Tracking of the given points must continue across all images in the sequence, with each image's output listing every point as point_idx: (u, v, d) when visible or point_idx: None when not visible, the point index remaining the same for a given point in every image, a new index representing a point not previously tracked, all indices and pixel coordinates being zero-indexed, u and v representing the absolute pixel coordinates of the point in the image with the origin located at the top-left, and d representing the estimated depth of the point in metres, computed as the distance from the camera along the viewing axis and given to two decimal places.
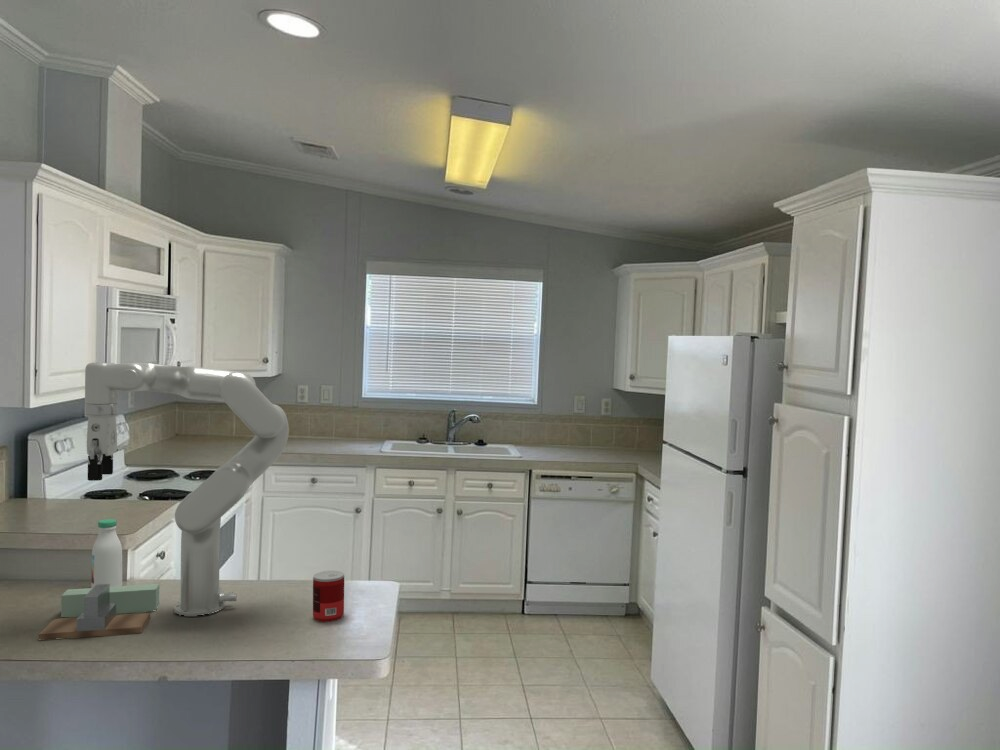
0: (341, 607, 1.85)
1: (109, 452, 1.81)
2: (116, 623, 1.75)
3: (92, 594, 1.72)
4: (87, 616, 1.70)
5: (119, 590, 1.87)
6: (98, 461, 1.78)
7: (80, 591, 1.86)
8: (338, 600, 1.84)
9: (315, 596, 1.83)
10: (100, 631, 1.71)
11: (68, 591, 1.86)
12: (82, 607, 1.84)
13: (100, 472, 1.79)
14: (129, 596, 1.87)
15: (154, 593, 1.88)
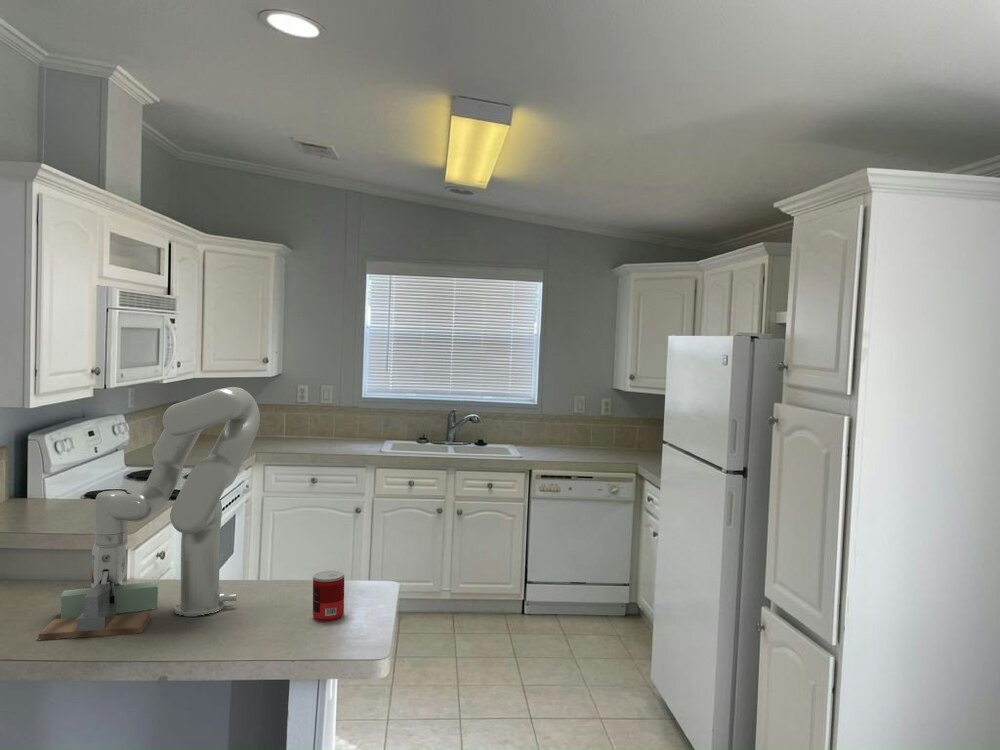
0: (341, 607, 1.85)
1: (119, 581, 1.85)
2: (116, 623, 1.75)
3: (92, 594, 1.72)
4: (87, 616, 1.70)
5: (119, 589, 1.87)
6: (110, 594, 1.84)
7: (79, 591, 1.85)
8: (338, 600, 1.84)
9: (315, 596, 1.83)
10: (100, 631, 1.71)
11: (66, 592, 1.84)
12: (82, 607, 1.83)
13: None
14: (130, 594, 1.87)
15: (156, 590, 1.90)
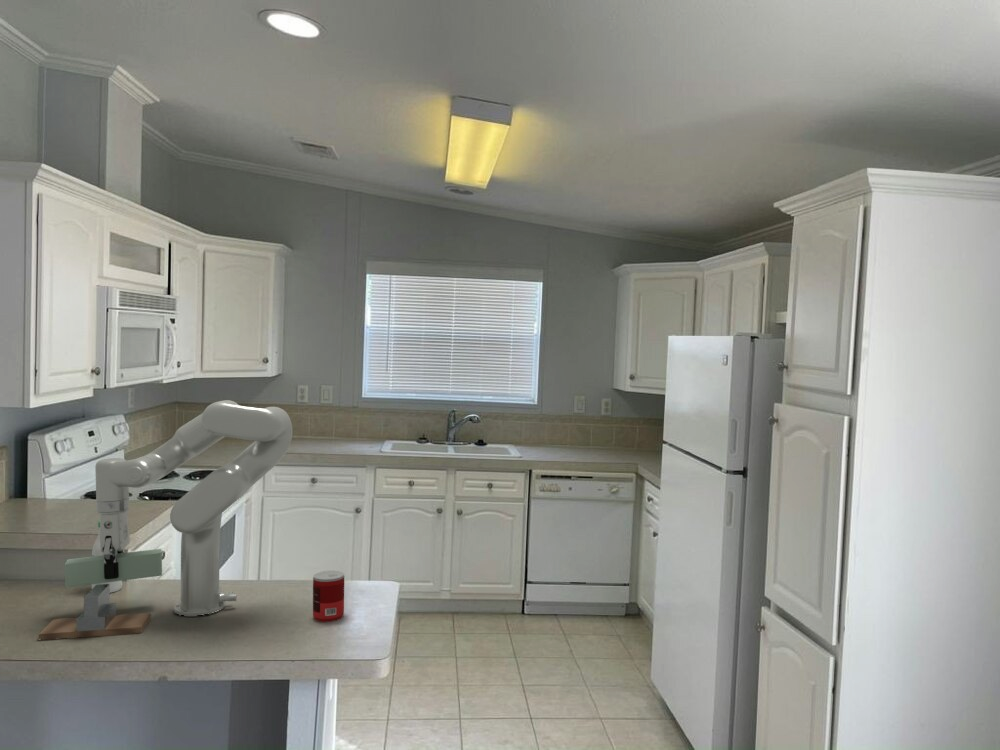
0: (341, 607, 1.85)
1: (122, 547, 1.85)
2: (116, 623, 1.75)
3: (92, 594, 1.72)
4: (87, 616, 1.70)
5: (123, 556, 1.87)
6: (114, 561, 1.84)
7: (82, 559, 1.85)
8: (338, 600, 1.84)
9: (315, 596, 1.83)
10: (100, 631, 1.71)
11: (69, 560, 1.84)
12: (86, 575, 1.83)
13: (116, 570, 1.85)
14: (134, 561, 1.87)
15: (159, 557, 1.90)
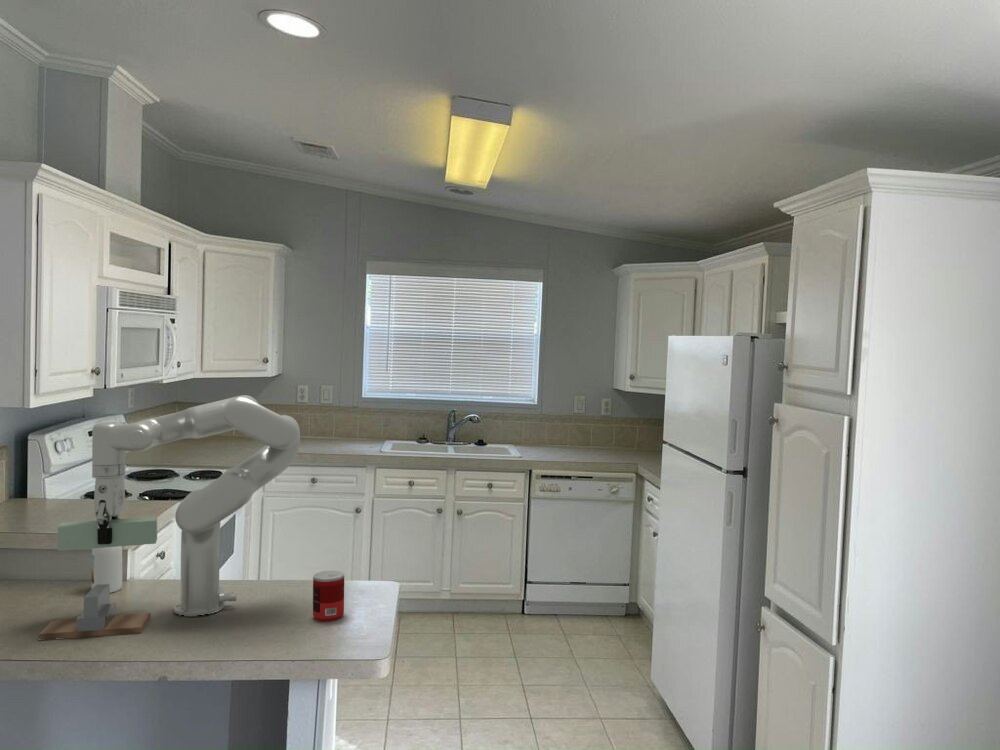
0: (341, 607, 1.85)
1: (116, 513, 1.82)
2: (116, 623, 1.75)
3: (92, 594, 1.72)
4: (87, 616, 1.70)
5: (117, 522, 1.84)
6: (107, 526, 1.80)
7: (76, 523, 1.82)
8: (338, 600, 1.84)
9: (315, 596, 1.83)
10: (100, 631, 1.71)
11: (63, 524, 1.81)
12: (79, 539, 1.80)
13: (110, 536, 1.81)
14: (128, 527, 1.84)
15: (154, 524, 1.86)
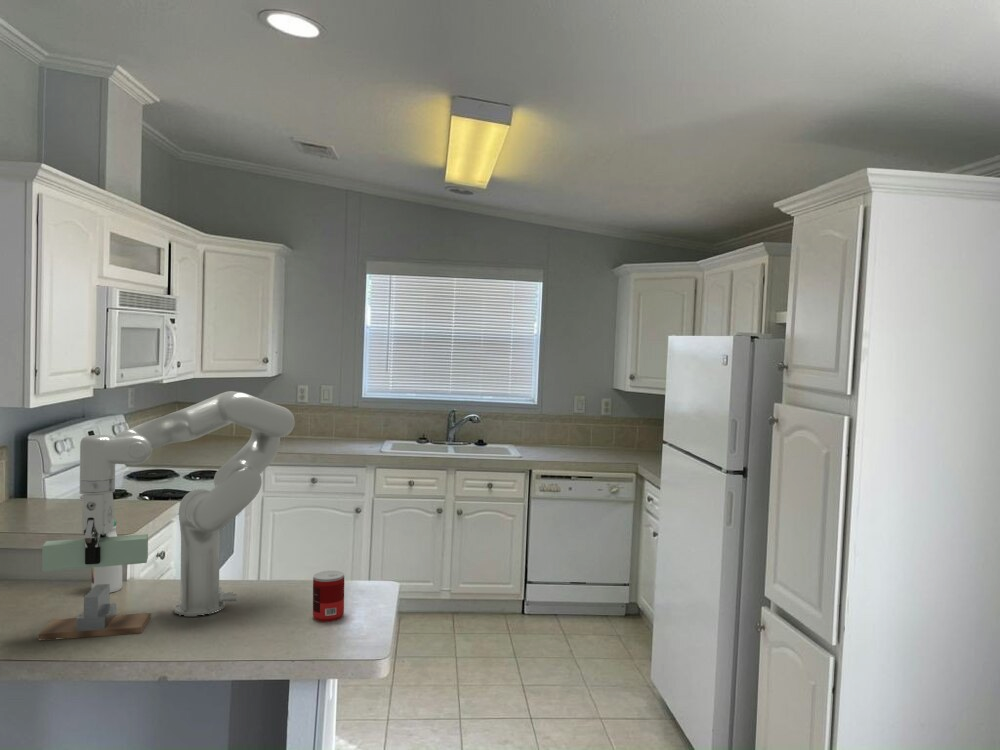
0: (341, 607, 1.85)
1: (105, 531, 1.72)
2: (116, 623, 1.75)
3: (92, 594, 1.72)
4: (87, 616, 1.70)
5: (106, 540, 1.74)
6: (96, 545, 1.71)
7: (62, 542, 1.72)
8: (338, 600, 1.84)
9: (315, 596, 1.83)
10: (100, 631, 1.71)
11: (48, 542, 1.71)
12: (65, 558, 1.70)
13: (98, 555, 1.72)
14: (117, 546, 1.74)
15: (145, 543, 1.77)
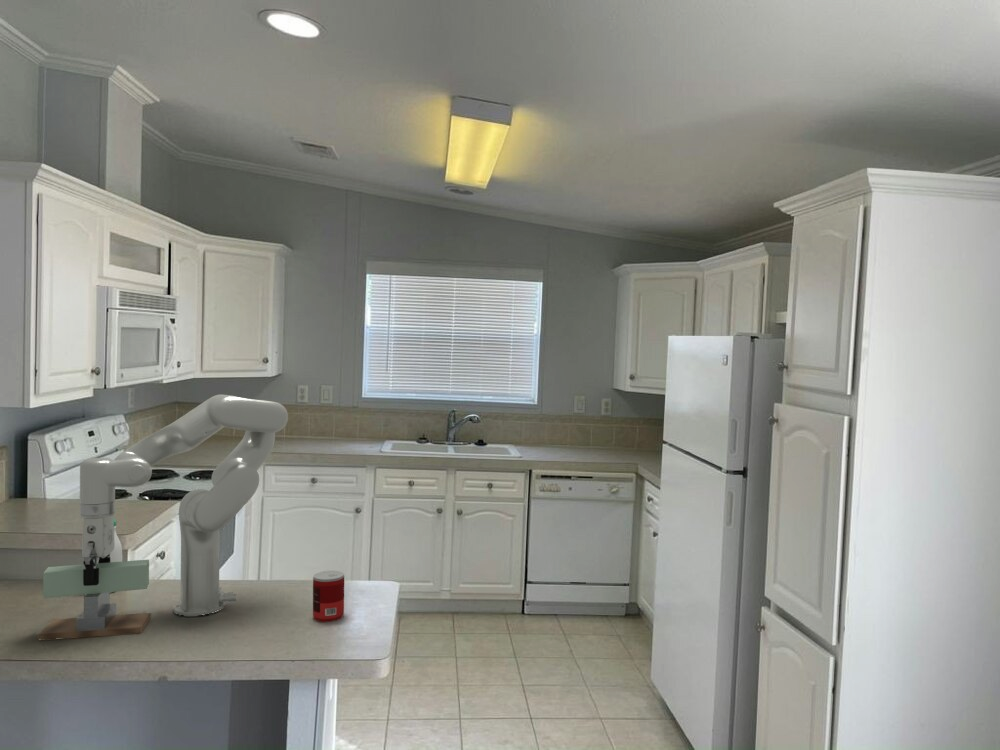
0: (341, 607, 1.85)
1: (106, 554, 1.73)
2: (116, 623, 1.75)
3: (92, 594, 1.72)
4: (87, 616, 1.70)
5: (107, 566, 1.75)
6: (94, 565, 1.69)
7: (63, 568, 1.72)
8: (338, 600, 1.84)
9: (315, 596, 1.83)
10: (100, 631, 1.71)
11: (50, 568, 1.72)
12: (66, 585, 1.71)
13: (96, 576, 1.70)
14: (118, 572, 1.74)
15: (145, 569, 1.77)
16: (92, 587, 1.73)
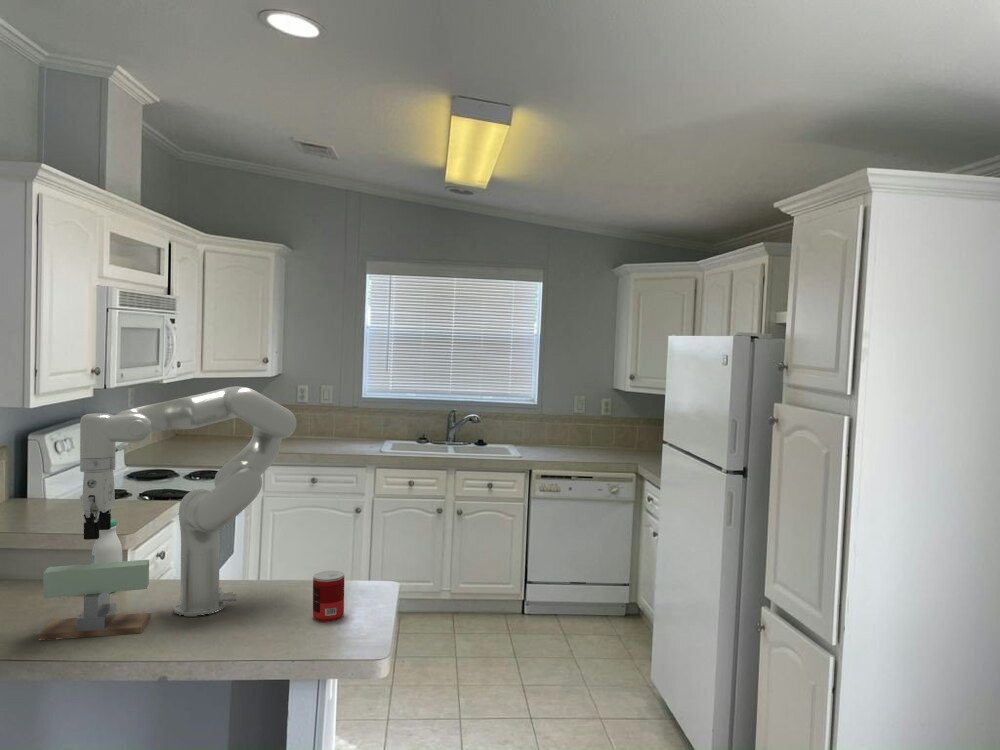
0: (341, 607, 1.85)
1: (106, 508, 1.72)
2: (116, 623, 1.75)
3: (92, 594, 1.72)
4: (87, 616, 1.70)
5: (107, 566, 1.75)
6: (95, 519, 1.69)
7: (63, 568, 1.72)
8: (338, 600, 1.84)
9: (315, 596, 1.83)
10: (100, 631, 1.71)
11: (50, 568, 1.72)
12: (66, 585, 1.71)
13: (97, 530, 1.70)
14: (118, 572, 1.74)
15: (145, 569, 1.77)
16: (92, 587, 1.73)
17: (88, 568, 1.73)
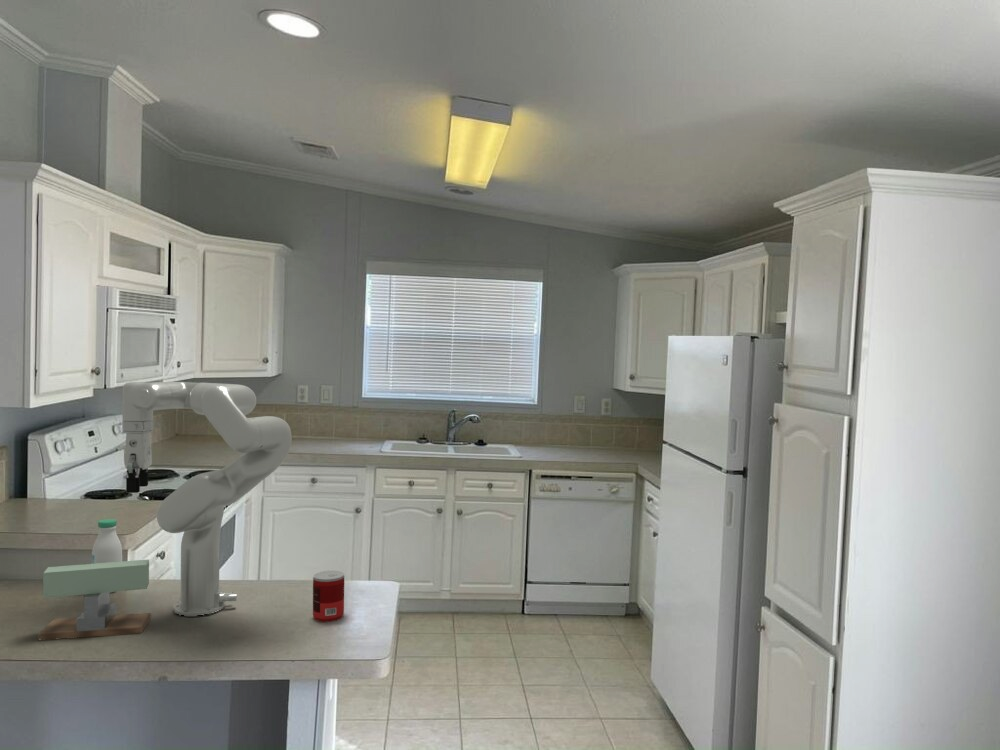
0: (341, 607, 1.85)
1: (145, 466, 1.95)
2: (116, 623, 1.75)
3: (92, 594, 1.72)
4: (87, 616, 1.70)
5: (107, 566, 1.75)
6: (136, 475, 1.91)
7: (63, 568, 1.72)
8: (338, 600, 1.84)
9: (315, 596, 1.83)
10: (100, 631, 1.71)
11: (50, 568, 1.72)
12: (66, 585, 1.71)
13: (138, 485, 1.92)
14: (118, 572, 1.74)
15: (145, 569, 1.77)
16: (92, 587, 1.73)
17: (88, 568, 1.73)
